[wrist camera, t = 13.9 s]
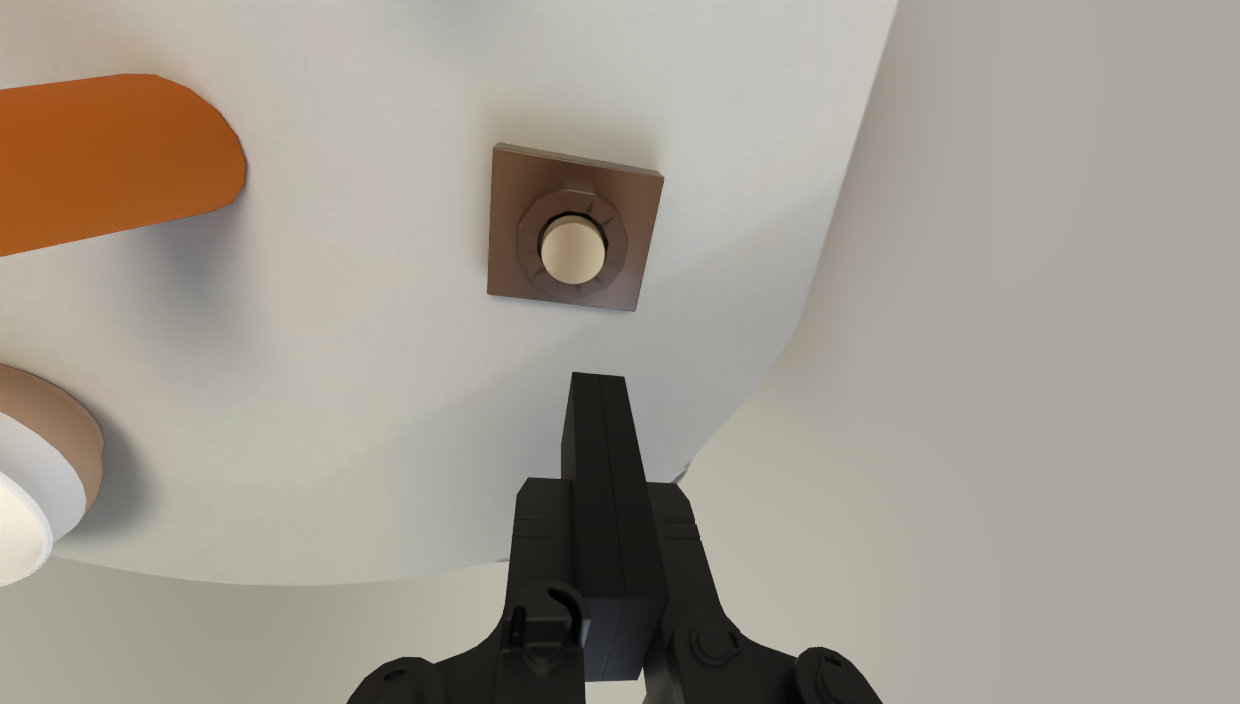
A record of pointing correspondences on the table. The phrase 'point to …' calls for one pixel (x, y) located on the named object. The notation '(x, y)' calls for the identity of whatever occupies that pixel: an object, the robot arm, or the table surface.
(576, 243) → the button
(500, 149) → the button block
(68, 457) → the bowl
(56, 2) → the table surface
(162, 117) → the spray bottle
